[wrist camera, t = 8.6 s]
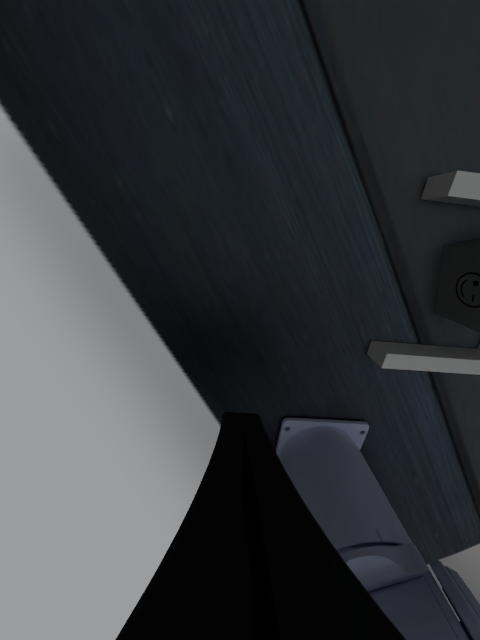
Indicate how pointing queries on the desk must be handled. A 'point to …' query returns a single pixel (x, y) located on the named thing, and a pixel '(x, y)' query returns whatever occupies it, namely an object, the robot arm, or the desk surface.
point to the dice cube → (460, 284)
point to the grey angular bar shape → (429, 357)
